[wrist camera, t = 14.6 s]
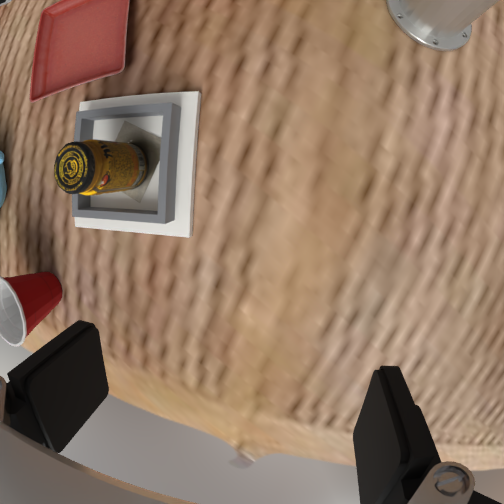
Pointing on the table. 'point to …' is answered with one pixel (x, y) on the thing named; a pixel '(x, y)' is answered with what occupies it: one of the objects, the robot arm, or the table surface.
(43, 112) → the table surface
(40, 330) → the table surface
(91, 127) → the holder
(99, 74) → the plant saucer
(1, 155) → the decorative pot
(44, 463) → the robot arm
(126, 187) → the condiment
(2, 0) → the smartphone
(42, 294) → the plastic cup
